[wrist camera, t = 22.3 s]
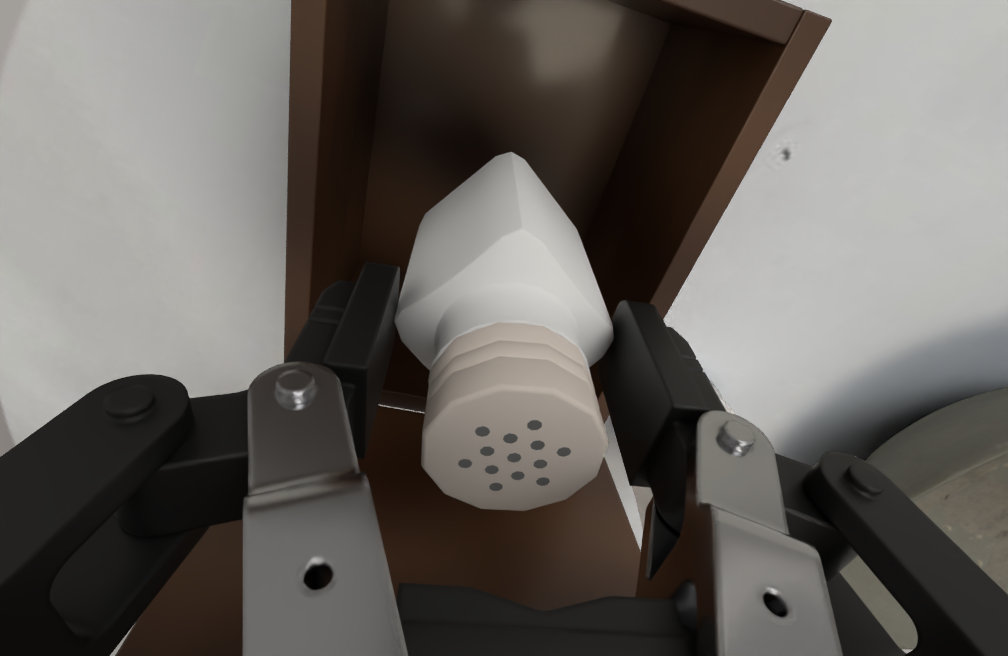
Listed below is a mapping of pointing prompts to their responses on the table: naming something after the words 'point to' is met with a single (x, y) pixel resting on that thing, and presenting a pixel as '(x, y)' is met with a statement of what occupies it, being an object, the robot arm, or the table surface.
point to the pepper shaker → (506, 342)
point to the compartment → (528, 130)
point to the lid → (415, 550)
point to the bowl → (947, 494)
